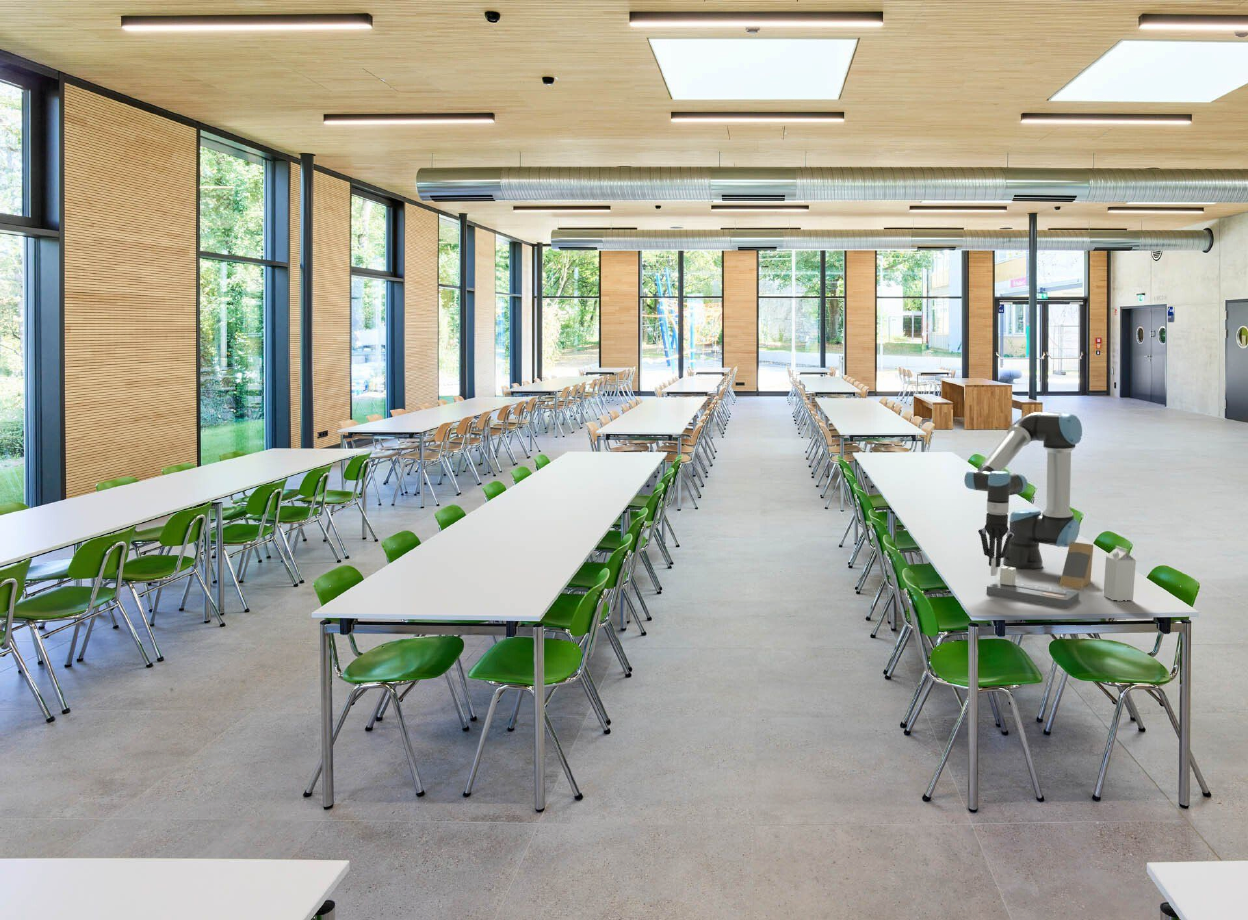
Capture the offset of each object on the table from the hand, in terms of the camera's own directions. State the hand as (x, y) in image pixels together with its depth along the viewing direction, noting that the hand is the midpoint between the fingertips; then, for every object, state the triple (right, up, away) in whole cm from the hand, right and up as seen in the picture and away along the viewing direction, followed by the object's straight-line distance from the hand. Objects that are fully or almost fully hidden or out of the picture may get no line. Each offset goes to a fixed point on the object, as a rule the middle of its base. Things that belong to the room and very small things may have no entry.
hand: (994, 574), depth 353 cm
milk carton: (+41, -8, -10) cm, 43 cm away
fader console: (+11, -7, -9) cm, 15 cm away
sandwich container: (+35, -5, +11) cm, 37 cm away
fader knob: (+4, -3, -3) cm, 6 cm away
